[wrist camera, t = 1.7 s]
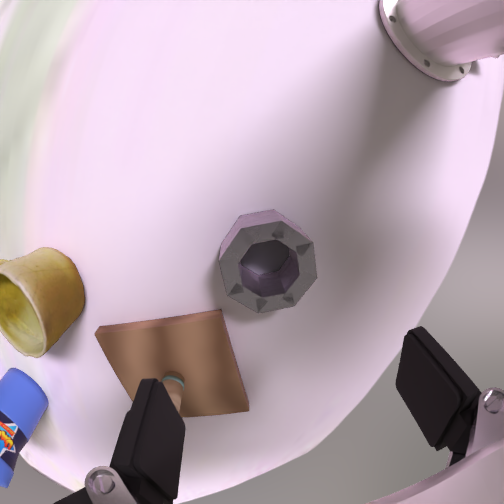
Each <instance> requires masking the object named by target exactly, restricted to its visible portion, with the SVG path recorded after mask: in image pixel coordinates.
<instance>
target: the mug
mask: <svg viewBox="0 0 504 504" xmlns="http://www.w3.org/2000/svg"><path fill="white" fill-rule="evenodd" d="M84 303H85V297H84V287H83V283H82V281H81V279H80V275H79V273H78V271H77V269H76V266H75V264H74V263H73V262H72V260H71V259H70V258H69V257H67V256H66V255H64V254H63V253H61V252H59V251H58V250H56V249H53V248H48V247H42V248H39V249H37V250H35V251H34V252H32V253H30V254H28V255H26V256H23V257H20V258H16V259H14V260H9V261H8V260H4V259H2V260H0V331H1V332H2V334H3V335H4V337H5V338H6V339H7V340H8V342H9V343H10V344H11V345H12V346H13V347H14V348H15V349H16V350H17V351H18V352H20V353H21V354H23V355H24V356H32V357H34V358H39V357H41V356H43V355H44V354H45V353H46V352H47V351H48V350H49V349H50V348H51V347H52V346H53V345H54V344H55V343H56V342H57V341H58V339H59V338H60V337H61V335H62V334H63V333H64V332H65V331H66V330H67V329H68V328H69V327H70V326H71V324H72V323H73V322H74V321H75V320H76V319H77V318H78V317H79V315H80V314H81V312H82V310H83V307H84Z"/></svg>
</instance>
